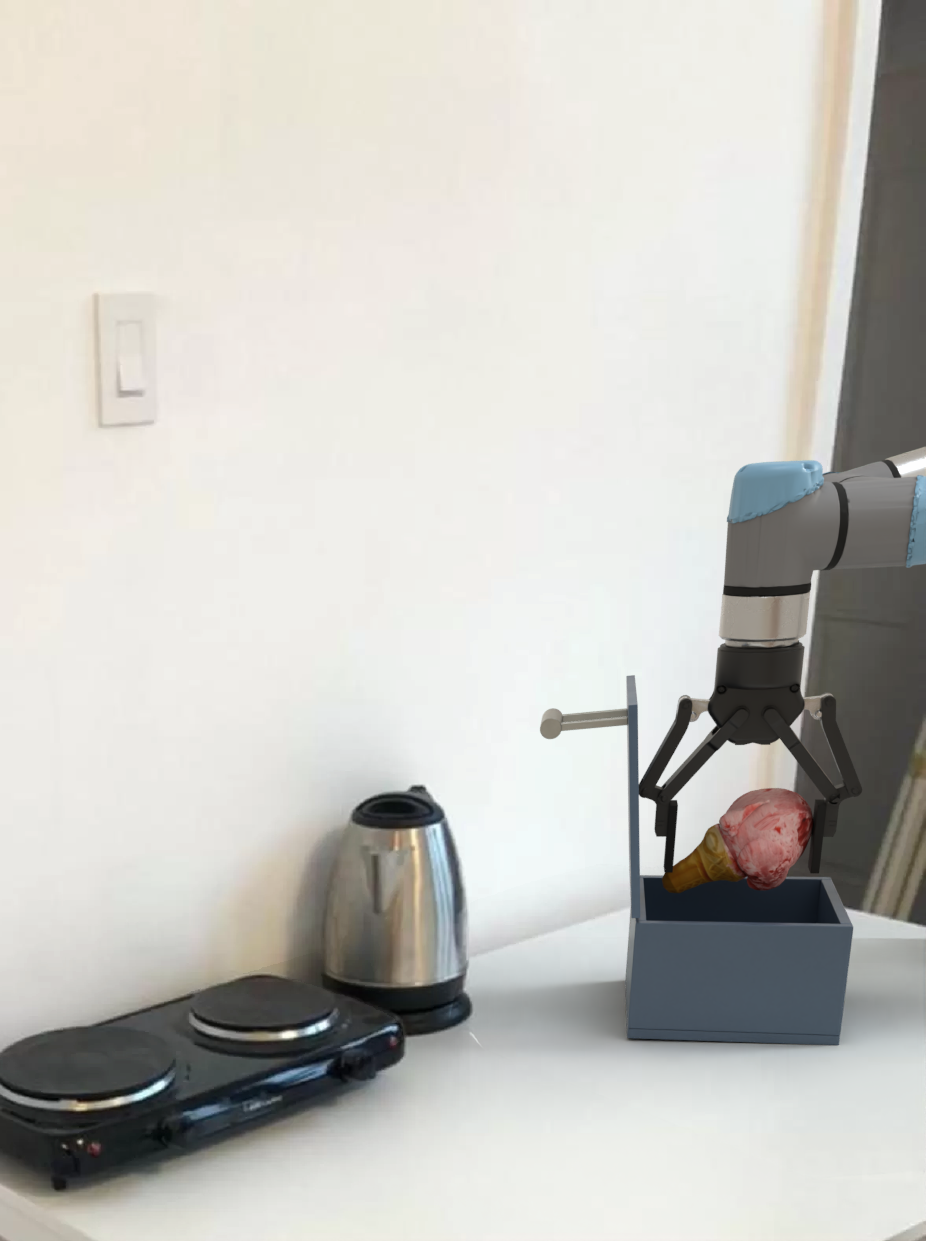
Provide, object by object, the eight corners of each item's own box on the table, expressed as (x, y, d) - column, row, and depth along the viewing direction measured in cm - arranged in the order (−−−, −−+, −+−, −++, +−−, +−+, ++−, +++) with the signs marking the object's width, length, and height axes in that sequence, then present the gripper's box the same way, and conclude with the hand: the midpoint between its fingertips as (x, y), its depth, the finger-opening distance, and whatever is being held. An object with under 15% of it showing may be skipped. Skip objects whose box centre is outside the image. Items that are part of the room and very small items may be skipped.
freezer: (817, 986, 184) (830, 876, 179) (838, 1045, 167) (853, 926, 163) (625, 981, 189) (632, 874, 185) (626, 1038, 172) (635, 922, 168)
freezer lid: (634, 674, 177) (543, 684, 180) (637, 704, 160) (536, 713, 163) (637, 870, 184) (549, 876, 187) (640, 917, 168) (543, 923, 170)
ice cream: (659, 902, 170) (812, 821, 163) (630, 829, 176) (777, 748, 168) (702, 955, 178) (850, 880, 170) (673, 884, 183) (815, 808, 176)
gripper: (901, 632, 164) (873, 861, 172) (621, 640, 171) (607, 860, 179) (913, 642, 157) (883, 879, 166) (621, 650, 164) (607, 878, 173)
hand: (740, 870), depth 173 cm, fingers closed on ice cream, 12 cm apart
